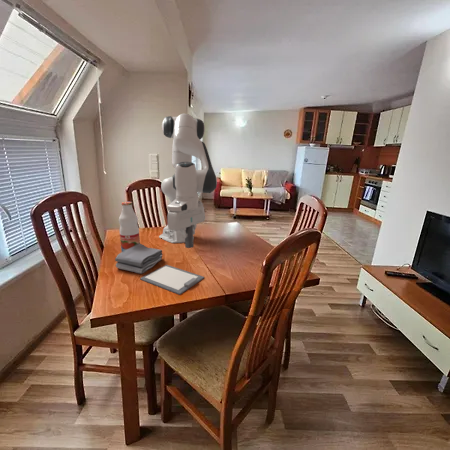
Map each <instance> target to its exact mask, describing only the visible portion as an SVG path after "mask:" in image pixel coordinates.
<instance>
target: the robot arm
mask: <svg viewBox="0 0 450 450" xmlns="http://www.w3.org/2000/svg"><path fill="white" fill-rule="evenodd" d="M204 123H205V122H204V121H203V120H202V119H200V118H194V117H193V116H192V115H190V114H188V113H180V114H179V115H178V116H172V115H170V116H169V115H168V116H165V117H163V120H162V122H161V130H162V133H163V135H164V136H165V137H167V138H169V139H172V147H171V148H172V150H171V152H172V153H171V165H172V167H173V168H174V174H173V175H172V176H170V177H167V178H164V179H163V180H162V182H161V185H160V186H161V187H160V188H161V191H162V193H163V194H164V195H165V196H166V197H167V198H168V199H169V201H170V203H169V204H168V205H167V206H166V209H167V211H168V212H167V225H166V226H164V227H163V229H162V233H161V234H160V235H159V236H158V238H159V239H161V238H162V239H161V240H164V241H166V242H168V243H172V244H177V243H180V244H181V243H185V238H187V237H188V233H186V231H185V230H186V228H187V227H189V226H191V225H193V240H194V239H195V238H194V235H195V234H196V229H197V224H199V223H203V222H205V219H206V212H205V207H204V203H203V202H202V201H201V200H199V194H200V193H203V194H211V193H212V192H214V191H215V190H216V189H217V185H218V179H217V176H216V173H215V170H214V168H213V165H212V160H211V157H210V155H209V152H208V149H207V145H206V144H205V142H204V141H202V140H201V139H203V138H204V135H205V133H206V128H205V127H206V126H205V124H204ZM193 157H195V158H197V159H199V161H200V163H201V168H202V169H197V168H196V163H194V162H192V160H193V159H192V158H193ZM198 193H199V194H198ZM191 217H192V222H191V219H190V218H191Z"/></svg>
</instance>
